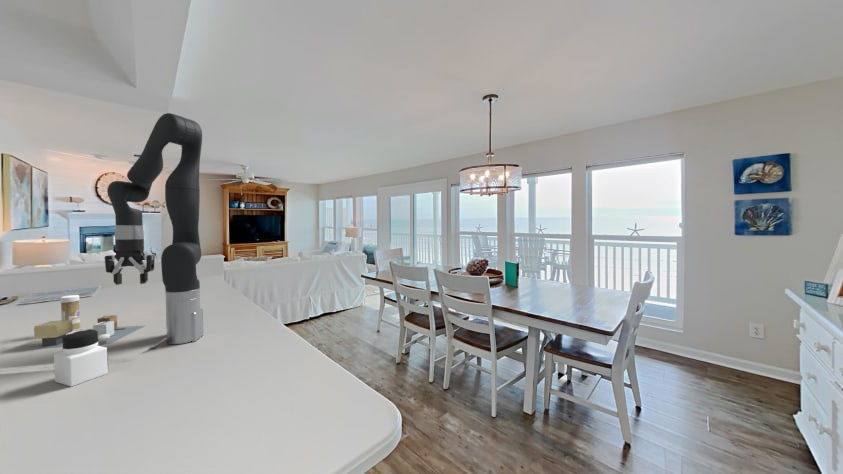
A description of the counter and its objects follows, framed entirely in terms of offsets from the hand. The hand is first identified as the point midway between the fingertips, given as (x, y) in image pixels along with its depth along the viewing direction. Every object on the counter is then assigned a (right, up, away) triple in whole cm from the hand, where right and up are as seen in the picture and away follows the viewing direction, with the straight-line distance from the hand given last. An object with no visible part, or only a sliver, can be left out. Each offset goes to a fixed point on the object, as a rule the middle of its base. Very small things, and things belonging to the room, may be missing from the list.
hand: (130, 283), depth 110 cm
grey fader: (-1, -17, -8) cm, 19 cm away
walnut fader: (-7, -16, -1) cm, 18 cm away
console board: (-6, -18, -7) cm, 20 cm away
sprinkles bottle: (-22, -18, +1) cm, 29 cm away
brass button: (-11, -14, -13) cm, 23 cm away
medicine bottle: (+18, -19, -32) cm, 41 cm away
